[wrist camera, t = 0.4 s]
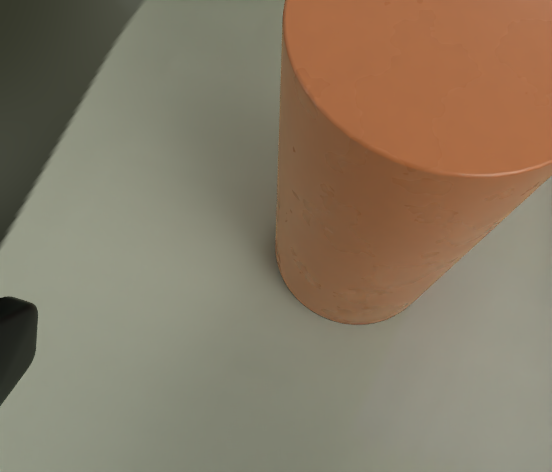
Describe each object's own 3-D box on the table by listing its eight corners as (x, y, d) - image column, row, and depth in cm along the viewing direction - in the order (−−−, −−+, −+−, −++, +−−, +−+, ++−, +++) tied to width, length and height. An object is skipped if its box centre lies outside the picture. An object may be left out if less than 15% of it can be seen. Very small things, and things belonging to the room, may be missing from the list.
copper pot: (412, 346, 21) (614, 223, 9) (254, 296, 21) (235, 116, 9) (458, 144, 24) (651, -151, 12) (319, 106, 25) (368, -212, 13)
